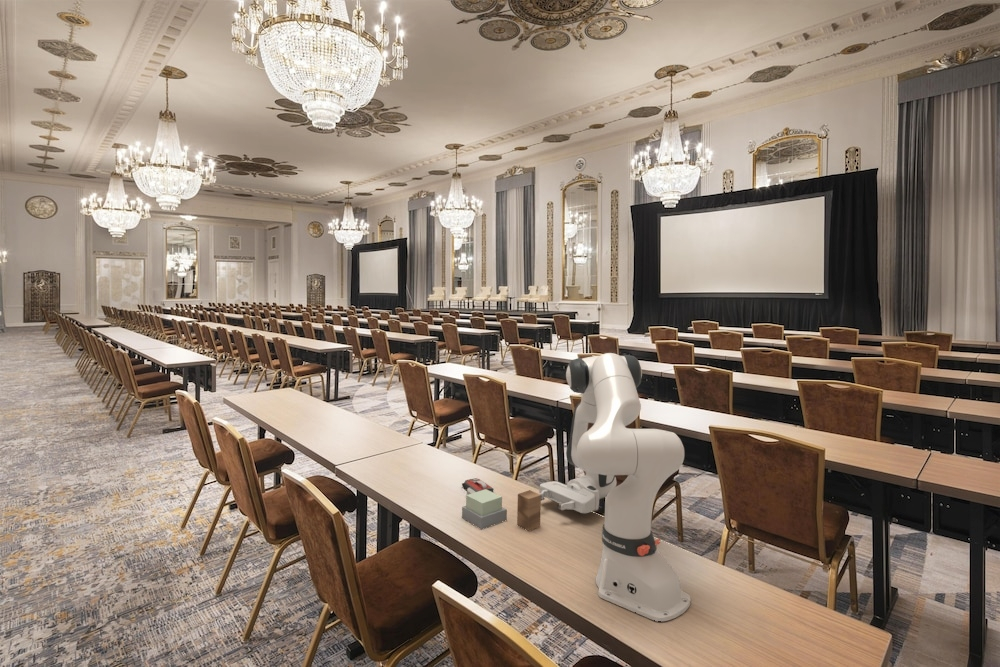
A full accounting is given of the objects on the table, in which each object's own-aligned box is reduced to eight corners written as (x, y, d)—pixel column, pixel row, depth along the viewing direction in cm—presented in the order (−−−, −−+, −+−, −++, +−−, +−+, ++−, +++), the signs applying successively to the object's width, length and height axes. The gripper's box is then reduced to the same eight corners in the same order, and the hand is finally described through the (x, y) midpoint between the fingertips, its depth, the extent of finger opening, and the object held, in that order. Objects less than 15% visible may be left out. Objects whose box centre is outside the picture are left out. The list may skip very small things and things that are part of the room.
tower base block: (506, 521, 163) (506, 509, 162) (481, 530, 156) (481, 517, 156) (486, 511, 170) (487, 499, 170) (462, 519, 164) (462, 506, 164)
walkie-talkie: (456, 488, 189) (482, 509, 172) (456, 477, 189) (482, 496, 171) (477, 484, 193) (505, 503, 176) (478, 473, 193) (505, 491, 176)
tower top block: (501, 509, 162) (502, 496, 162) (482, 516, 157) (482, 503, 157) (485, 501, 168) (485, 489, 168) (466, 507, 163) (466, 495, 163)
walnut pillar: (540, 526, 159) (540, 495, 158) (528, 531, 155) (529, 499, 155) (529, 521, 162) (529, 490, 162) (517, 525, 159) (517, 493, 158)
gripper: (556, 474, 181) (527, 482, 172) (602, 492, 165) (573, 502, 156) (555, 491, 181) (526, 501, 172) (602, 511, 165) (572, 522, 157)
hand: (549, 502), depth 164 cm, fingers open, 8 cm apart
